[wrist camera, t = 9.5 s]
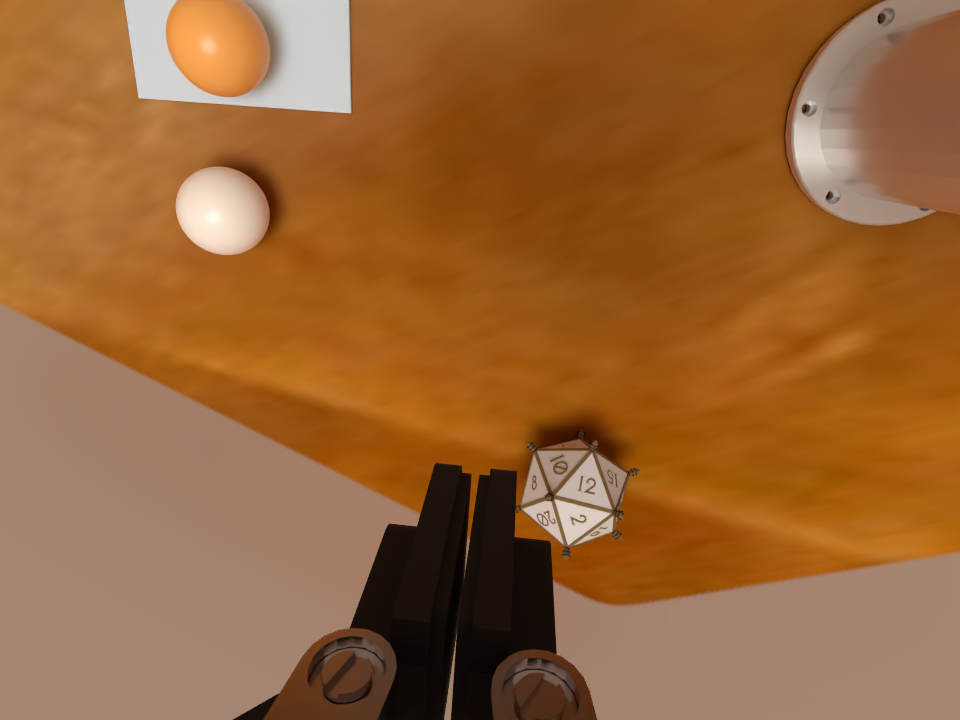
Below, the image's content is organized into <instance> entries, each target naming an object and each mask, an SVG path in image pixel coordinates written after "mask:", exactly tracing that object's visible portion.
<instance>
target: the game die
mask: <svg viewBox="0 0 960 720" xmlns="http://www.w3.org/2000/svg"><path fill="white" fill-rule="evenodd" d="M577 433H578V435H577V436H578V439H575V440H571V441H566V442H562V443H558V444H554V445H550V446H546V447H541V448H536V447H535V445H534V444H533V442H527V441H526V443H527V448H529V449H530V450H532V451H533V454H532V458H531V462H530V466H529V470H528V474H527V478H526V482H525V486H524V490H523V494H522V498H521V502H520V505H519V506H516V509H515V513H516V512H517V513H518V511H520V510H521V511H522V512H524V513H525V514H526V515H527V516H528V517H529V518H531V519H532V520H533V521H534V522H535V523H536V524H538V525H539V526H540V527H541V528H542V529H544V530H545V531H546V532H547V533H548V534H549V535H551V536H552V537H553V538H554V539H555V540H556V541H558V542H559V543H560V544H561V545H562V546H563V547H565V549H564V550H563V554H562V556H563V557H564V560H565V561H566V560H567V559H568V558H569V557H570V553H571V552H570V550H569V549H570V548H571V547H574V546H577V545H580V544H582V543H585V542H588V541H591V540H594V539H596V538H599V537H602V536H605V535H607V534H610V533H612V534H613V537H615V539H619V540H622V537H621V534H620V533H619V532H618V531H616V530H615V528H616V525H617V521H618V518H619V519H620V520H621V519H622V518H625V516H624V514H623V511H620V509H621V505H622V501H623V498H624V494H625V490H626V486H627V482H628V478H629V476H634V475H637V474H638V472H639V471H640V470H639V469H636V468H633V469H630V470H629V471H626V470H625V469H623V468H622V467H621V466H619V465H618V464H617V463H615V462H614V461H612V460H611V459H610V458H608V457H607V456H605V455H604V454H603V453H601V452H600V451H599V450H597V449H598V448H597V447H599V445H598V443H597V440H595V441H592V442H591V445H590V444H589V443H587V442H586V441H585V440H583V438H584V435H585V432H584V431H583V429H581V430H580V431H579V432H577Z"/></svg>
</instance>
